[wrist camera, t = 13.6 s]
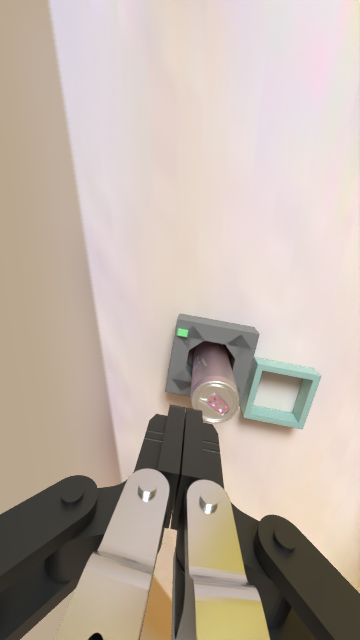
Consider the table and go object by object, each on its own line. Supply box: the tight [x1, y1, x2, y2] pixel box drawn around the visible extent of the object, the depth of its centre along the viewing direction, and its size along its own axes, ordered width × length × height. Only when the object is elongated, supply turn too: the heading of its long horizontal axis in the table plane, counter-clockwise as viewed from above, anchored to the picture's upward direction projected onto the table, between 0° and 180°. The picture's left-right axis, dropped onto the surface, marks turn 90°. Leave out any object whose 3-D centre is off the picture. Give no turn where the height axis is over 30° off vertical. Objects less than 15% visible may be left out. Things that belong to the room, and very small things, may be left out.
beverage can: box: [191, 341, 239, 423], centre depth 36 cm, size 6×6×15 cm
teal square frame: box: [241, 357, 321, 429], centre depth 42 cm, size 10×10×3 cm
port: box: [165, 314, 259, 406], centre depth 41 cm, size 13×13×4 cm
